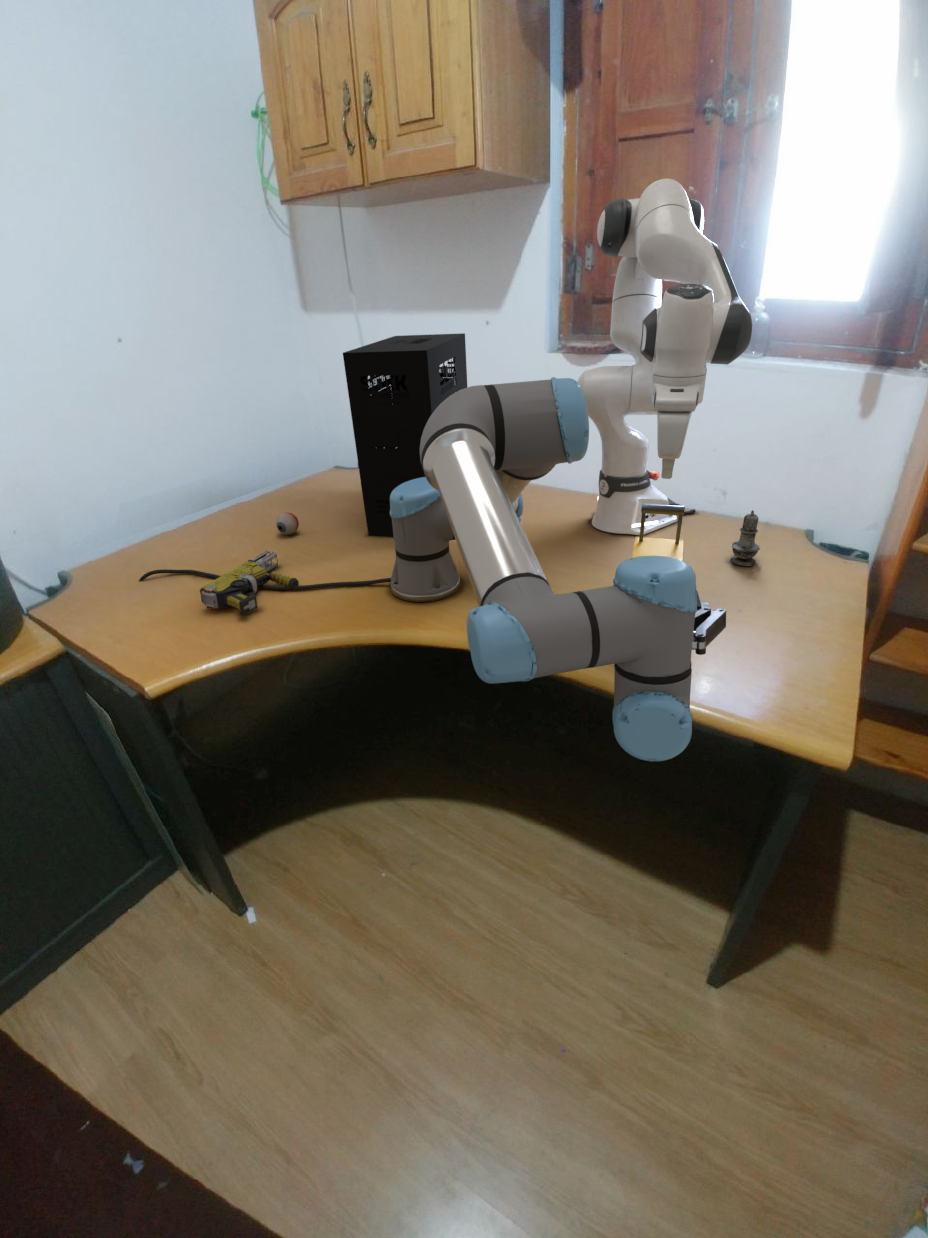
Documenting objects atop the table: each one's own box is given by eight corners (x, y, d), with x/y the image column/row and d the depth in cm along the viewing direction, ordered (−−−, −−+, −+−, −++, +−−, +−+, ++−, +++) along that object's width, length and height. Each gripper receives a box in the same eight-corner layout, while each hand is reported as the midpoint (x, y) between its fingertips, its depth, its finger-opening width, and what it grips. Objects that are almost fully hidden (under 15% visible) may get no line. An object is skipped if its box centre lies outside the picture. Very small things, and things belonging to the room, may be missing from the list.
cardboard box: (441, 538, 157) (426, 350, 134) (368, 534, 161) (342, 352, 139) (472, 491, 188) (464, 333, 166) (410, 490, 193) (395, 335, 170)
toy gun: (318, 559, 142) (264, 548, 146) (255, 602, 122) (194, 588, 125) (320, 577, 144) (266, 565, 148) (258, 622, 124) (198, 608, 128)
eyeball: (273, 537, 164) (268, 516, 161) (287, 528, 169) (282, 508, 166) (291, 539, 161) (286, 518, 158) (305, 530, 166) (301, 510, 163)
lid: (635, 541, 122) (639, 499, 118) (682, 545, 120) (688, 502, 115) (627, 575, 109) (632, 530, 105) (681, 580, 107) (688, 534, 102)
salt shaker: (759, 566, 133) (770, 515, 127) (731, 565, 134) (740, 514, 128) (754, 555, 138) (764, 505, 132) (726, 555, 139) (735, 505, 133)
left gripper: (547, 692, 77) (565, 627, 96) (763, 691, 69) (736, 620, 88) (541, 639, 74) (560, 582, 93) (765, 632, 67) (736, 572, 86)
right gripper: (660, 381, 114) (652, 454, 121) (654, 402, 97) (646, 485, 104) (696, 381, 112) (686, 455, 119) (696, 402, 95) (684, 487, 102)
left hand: (646, 601), depth 91 cm, fingers open, 13 cm apart
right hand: (667, 469), depth 112 cm, fingers open, 8 cm apart
